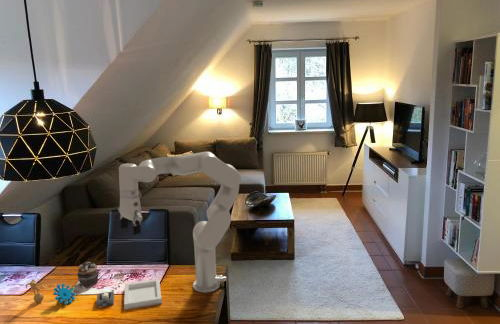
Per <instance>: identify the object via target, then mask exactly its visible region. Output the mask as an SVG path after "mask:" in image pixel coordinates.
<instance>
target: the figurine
mask: <svg viewBox="0 0 500 324" xmlns="http://www.w3.org/2000/svg"><path fill="white" fill-rule="evenodd" d="M28 286H29V287H30V289H31V290H33V294H34V296H33V301H34V302H35V303H40V302H42V301H43V300H44V293H41V292H40V288H42V289H45V287H44V286H42V285H41V284H39V283H36V282H35V278H33V279H31V281H30V282H28V283H26V284H25V289H28Z"/></svg>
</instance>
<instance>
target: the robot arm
mask: <svg viewBox="0 0 500 324" xmlns="http://www.w3.org/2000/svg"><path fill="white" fill-rule="evenodd" d="M197 173H204V174H205V175H206V176H207V177H209V178H210V179H213V180H214V181H215V182H217V183H219V184H220V186H219V187H220V188H219V190H218V192H217V194H216V196H215V197H214V199H213V200H212V202H211V203H210V205H209V207H208V208H207V209H206V216H207V219H208V220H202V221H198V222H197V223H196V224H195V225H194V227H193V229H192V238H193V247H194V248H193V249H194V266H195V280H194V282H193V284H192V288H193V290H194V291H196V292H198V293H201V294H202V293H204V294H207V293H211V292H215V291H217V290H218V289H219V288H220V285H221V282H227V277H226V276H223V274H220V275H217V262H216V260H217V259H216V247H218V246H217V245H218V244H219V243H220V242H221V240H222V239H223V237H224V235H225V234H226V232H227V231H228V229H229V227H230V225H231V221H232V215H231V214H230V213H231V212H230V210H231V208H232V207H233V205H234V203H235V201H236V199H237V197H238V195H239V190H240V184H241V181H242V176H241V173H240V172H239V171H238V170H237V169H236V168H235V167H234V166H233V165H232V164H229V163H225V162H224V161H222V160H221V159H220V158H218V157H217V156H216V154H214V153H213V152H211V151H201V152H196V153H195V152H194V153H189V154H185V155H183V154H182V155H178V156H177V155H176V156H174V155H173V156H164V157H163V156H161V157H156V158H151V159H150V158H148V159H146V160H143V161H141V162H140V163H139V164H138V165H137V164H135V163H122V164H121V165H119V167H118V178H119V179H118V180H119V182H118V183H119V207H117V210H118V215H119V220H120V228H121V229H123V230H124V229H125V228H128V227H129V221H132V223H133V226H132V234H133V235H135V236H136V235H140V233H141V232H142V231H141V225H142V223H143V216H142V207H141V199H140V196H139V182H141V183H150V182H153V181H154V180H155V179H156V178H157V175H161V174H171V175H172V174H173V175H177V176H187V175H192V174H197Z"/></svg>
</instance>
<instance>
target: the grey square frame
mask: <svg viewBox="0 0 500 324" xmlns="http://www.w3.org/2000/svg"><path fill="white" fill-rule="evenodd" d="M105 292H106V293H108V295H109V299H102V294H104V292H101V293H97V295H96V300H95V301H96V308H101V307H108V306H113V305H114V304H115V291H114V290H112V291H108V292H107V291H105Z"/></svg>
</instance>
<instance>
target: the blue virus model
mask: <svg viewBox="0 0 500 324" xmlns="http://www.w3.org/2000/svg"><path fill="white" fill-rule="evenodd" d="M70 287H71V286H70V285H69V284H67V285H66V284H65V283H62V284H57V285H56V287H54V288H53V291H54V292H53V293H52V294H53V296H55V297H54V299H55V300H56V301H57V302H58V303H59V304H62V303H63V304H64V305H68V304H72V303H73V301H74V300H75V299H76V292H74V291H75V286H72V287H71V288H70Z"/></svg>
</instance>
